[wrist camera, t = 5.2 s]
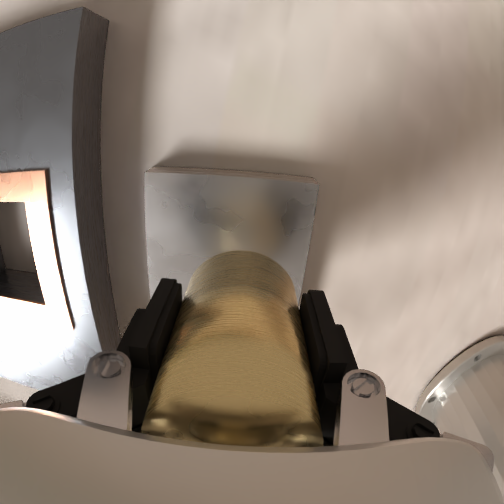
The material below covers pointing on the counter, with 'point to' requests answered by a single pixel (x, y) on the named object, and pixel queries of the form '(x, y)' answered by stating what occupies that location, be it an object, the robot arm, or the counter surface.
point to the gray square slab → (225, 219)
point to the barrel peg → (237, 361)
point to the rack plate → (54, 198)
